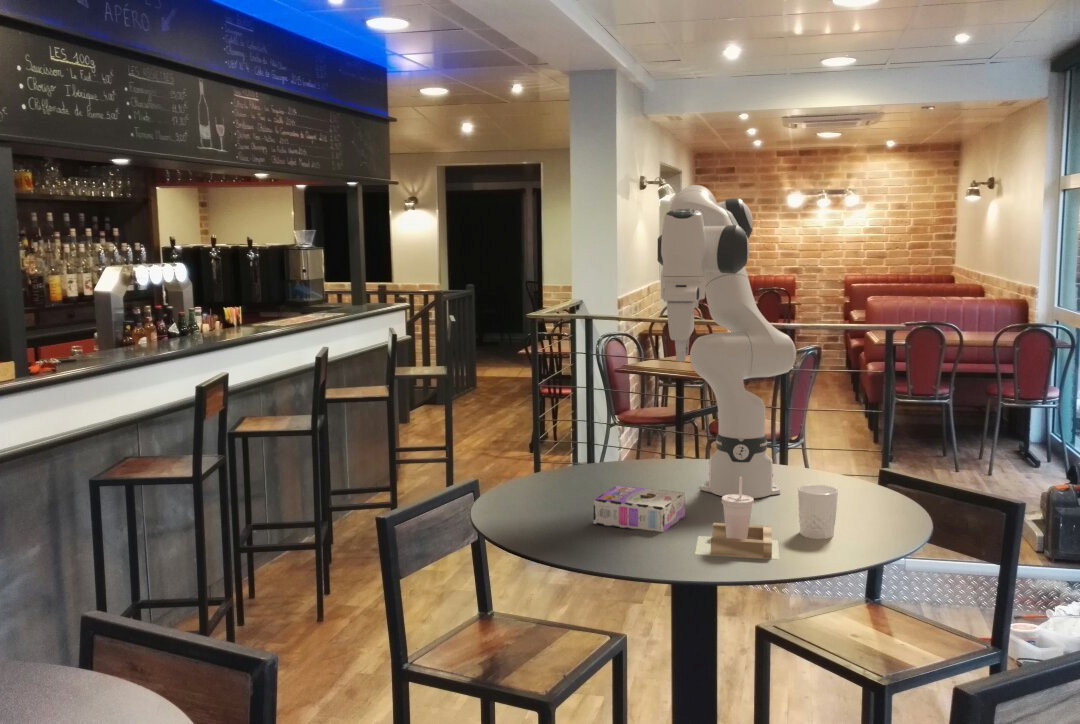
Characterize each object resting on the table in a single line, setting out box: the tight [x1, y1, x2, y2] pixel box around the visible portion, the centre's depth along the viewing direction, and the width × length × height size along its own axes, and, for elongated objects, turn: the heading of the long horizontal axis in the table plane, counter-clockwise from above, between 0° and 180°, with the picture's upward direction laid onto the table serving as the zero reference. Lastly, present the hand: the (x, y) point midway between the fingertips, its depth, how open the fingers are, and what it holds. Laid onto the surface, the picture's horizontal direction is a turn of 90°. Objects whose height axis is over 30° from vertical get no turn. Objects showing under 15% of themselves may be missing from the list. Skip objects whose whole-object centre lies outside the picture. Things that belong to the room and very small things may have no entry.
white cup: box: [797, 484, 839, 540], centre depth 207 cm, size 8×8×10 cm
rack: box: [710, 522, 773, 559], centre depth 199 cm, size 12×12×3 cm
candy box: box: [592, 485, 686, 533], centre depth 219 cm, size 14×6×16 cm
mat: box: [694, 535, 780, 560], centre depth 199 cm, size 12×16×1 cm
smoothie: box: [721, 477, 755, 539], centre depth 199 cm, size 6×6×14 cm
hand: (682, 358), depth 204 cm, fingers open, 8 cm apart
